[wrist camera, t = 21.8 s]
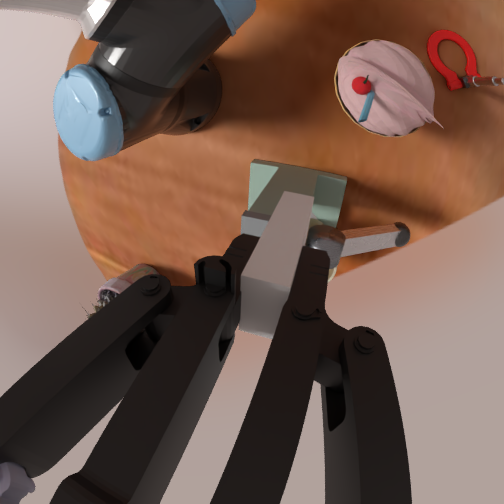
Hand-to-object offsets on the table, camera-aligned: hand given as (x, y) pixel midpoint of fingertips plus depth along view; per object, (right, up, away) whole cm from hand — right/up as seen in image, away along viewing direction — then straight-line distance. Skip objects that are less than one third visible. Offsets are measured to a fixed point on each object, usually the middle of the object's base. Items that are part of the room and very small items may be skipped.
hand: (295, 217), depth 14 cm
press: (+5, +5, +32) cm, 33 cm away
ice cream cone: (+15, +22, +17) cm, 31 cm away
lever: (+10, +1, +18) cm, 21 cm away
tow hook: (+27, +26, +9) cm, 39 cm away
